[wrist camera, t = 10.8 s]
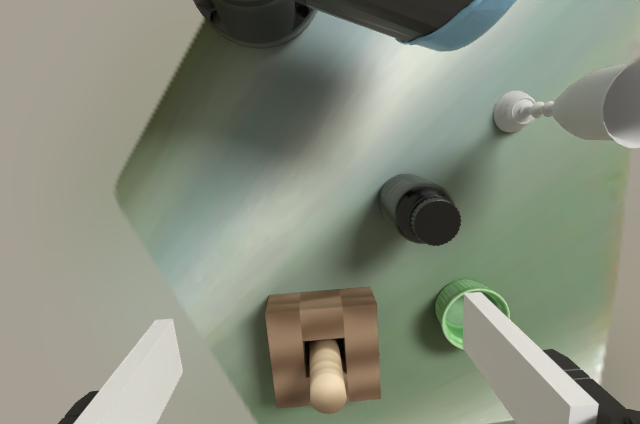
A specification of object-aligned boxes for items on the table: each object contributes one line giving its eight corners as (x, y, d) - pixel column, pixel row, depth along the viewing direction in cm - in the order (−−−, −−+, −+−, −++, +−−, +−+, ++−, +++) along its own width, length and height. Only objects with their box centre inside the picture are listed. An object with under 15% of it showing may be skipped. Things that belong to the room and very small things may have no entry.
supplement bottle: (383, 229, 47) (409, 263, 35) (373, 180, 45) (395, 198, 34) (433, 217, 47) (475, 246, 35) (425, 167, 45) (465, 180, 34)
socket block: (269, 295, 49) (264, 313, 44) (369, 286, 49) (376, 304, 44) (279, 382, 52) (276, 408, 47) (373, 373, 52) (380, 398, 47)
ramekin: (428, 280, 49) (439, 294, 45) (491, 270, 49) (509, 283, 45) (433, 336, 51) (444, 355, 47) (494, 327, 51) (511, 345, 47)
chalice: (521, 69, 43) (669, 28, 25) (552, 111, 44) (713, 100, 27) (474, 112, 44) (584, 101, 26) (505, 152, 45) (631, 167, 28)
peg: (308, 324, 50) (308, 384, 38) (336, 322, 50) (345, 381, 38) (310, 349, 51) (311, 415, 39) (337, 347, 51) (347, 411, 39)
